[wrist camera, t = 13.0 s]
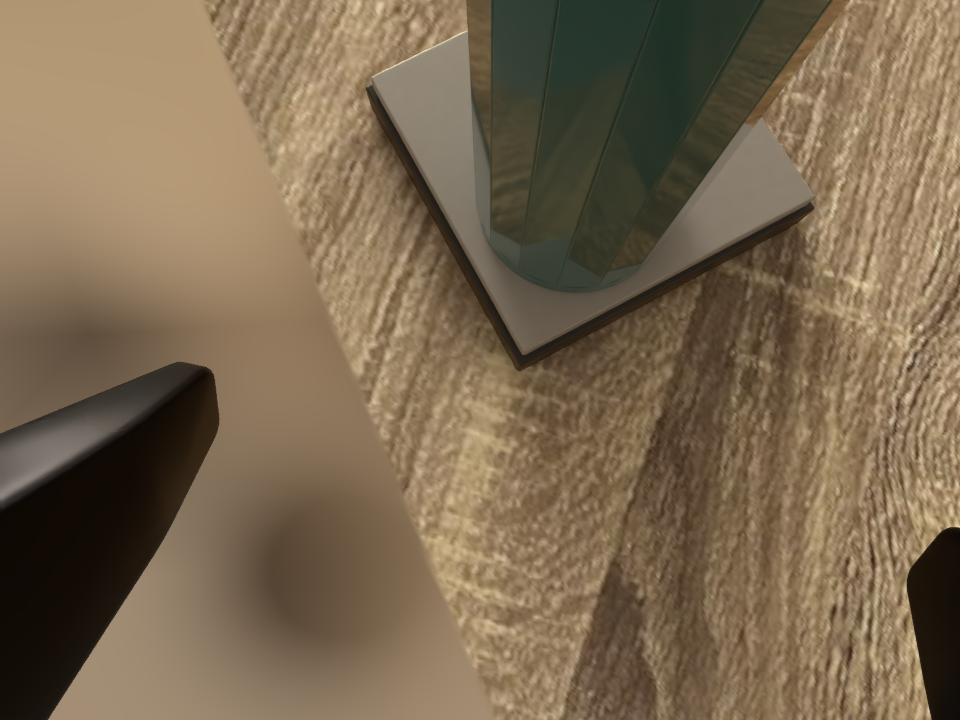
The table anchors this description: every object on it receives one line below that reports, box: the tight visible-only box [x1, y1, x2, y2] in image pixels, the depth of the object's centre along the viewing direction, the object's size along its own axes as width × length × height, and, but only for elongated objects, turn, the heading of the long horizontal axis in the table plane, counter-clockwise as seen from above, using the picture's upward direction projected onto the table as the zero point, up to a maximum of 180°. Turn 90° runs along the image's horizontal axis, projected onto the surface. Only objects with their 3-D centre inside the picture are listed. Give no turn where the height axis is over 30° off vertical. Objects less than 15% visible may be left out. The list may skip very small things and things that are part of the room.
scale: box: [366, 30, 815, 371], centre depth 20 cm, size 10×10×2 cm
